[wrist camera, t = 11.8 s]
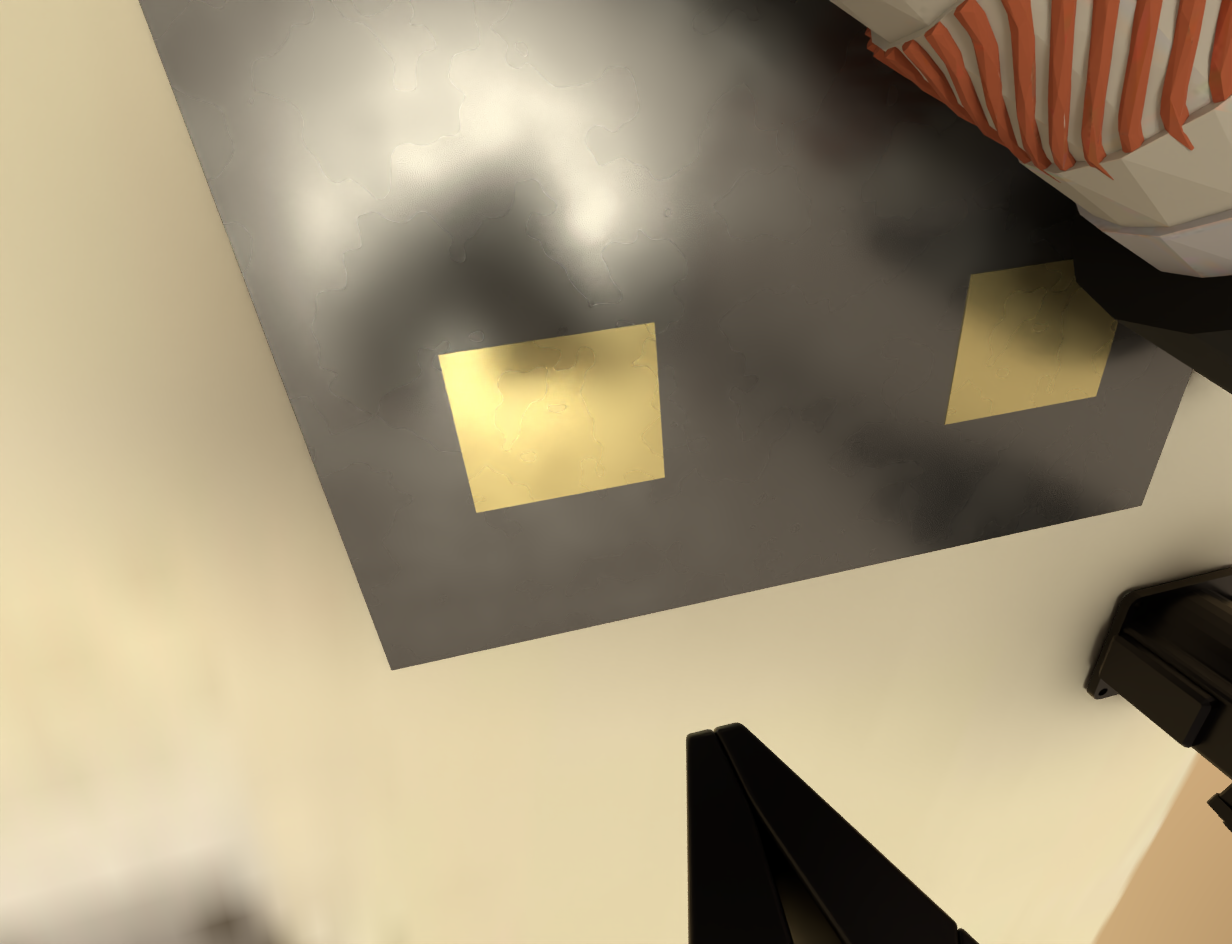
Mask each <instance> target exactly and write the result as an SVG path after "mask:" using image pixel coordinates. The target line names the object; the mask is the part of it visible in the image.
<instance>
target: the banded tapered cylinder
mask: <svg viewBox="0 0 1232 944" xmlns="http://www.w3.org/2000/svg"><path fill="white" fill-rule="evenodd" d="M829 1H831V2H832V3H834V4H835V5H837V6H838V7H839V8H841V9H842V10H844V11H845V12H847V13H848V14H849V15H851V16H852V17H854V18H855V19H856V20H858V21H859V22H861V23H862V24H864V25H865V26H866V27H867V30H866V32H865V35H867V36H868V37H870V40H869V42H868V43H867V49H868V50H870V51H872V52H873V53H874V55H873V57H875V58H876V59H878V60H879V61H881V62H882V63H884V64H885V65H887V66H889V67H890V68H892V69H893V70H895V71H896V72H898V73H899V74H901V75H902V76H904V77H905V78H907V79H909V80H911V81H912V82H913V83H915V84H916V85H917V86H918V87H919V88H920V89H921V90H922V91H924V92H926V93H927V94H929V95H931V96H932V97H934V98H936V99H937V100H939V101H941V102H943V103H944V104H946V105H947V106H948V107H949V108H950V109H951V110H952V111H953V112H954V113H955V114H956V115H957V116H959V117H961V118H962V119H964V120H966V121H968V122H970V123H972V124H973V125H976V126H978V128H979V129H980V130H981V132H982V133H983V134H984V135H985V136H987V137H989V138H991V139H992V140H994V141H996V142H998V143H1000V144H1001V145H1003V146H1005V147H1007V148H1008V149H1009V150H1010V151H1011V152H1012V153H1013V154H1014V155H1015V156H1016V157H1017V158H1018V160H1019V163H1021V164H1022V165H1024V166H1025V167H1026V168H1028V169H1029V170H1031V171H1032V172H1033V173H1035V174H1036V175H1038V176H1039V177H1040V178H1042V179H1043V180H1045V181H1046V182H1047V183H1049V184H1050V185H1052V186H1053V187H1054V188H1056V189H1057V190H1059V191H1060V192H1061V193H1063V194H1064V195H1066V196H1067V197H1068V198H1070V199H1071V200H1073V201H1074V202H1075V203H1076V206H1077V211H1076V214H1075V217H1074V220H1073V223H1072V225H1071V228H1070V238H1071V247H1072V255H1073V263H1074V272H1075V280H1076V283H1077V284H1078V285H1079V286H1080V287H1081V288H1082V289H1084V290H1085V291H1086V292H1087V293H1088V294H1089V295H1090V296H1091V297H1092V298H1093V299H1094V300H1095V301H1096V302H1097V303H1098V304H1099V305H1100V306H1101V307H1102V308H1103V309H1104V310H1105V311H1106V312H1107V313H1108V314H1109V315H1110V316H1111V317H1113V318H1114V319H1115V320H1117V321H1118V322H1120V323H1121V324H1123V325H1124V326H1126V327H1127V328H1129V329H1131V330H1132V331H1134V332H1135V333H1137V334H1138V335H1140V336H1142V337H1143V338H1145V339H1146V340H1148V341H1149V342H1151V343H1153V344H1154V345H1156V346H1157V347H1159V348H1160V349H1162V350H1163V351H1165V352H1167V353H1168V354H1170V355H1171V356H1173V357H1174V358H1176V359H1178V360H1179V361H1181V362H1182V363H1184V364H1185V365H1187V366H1188V367H1190V368H1192V369H1193V370H1195V371H1196V372H1198V373H1199V374H1201V375H1203V376H1204V377H1206V378H1207V379H1209V380H1210V381H1212V382H1214V383H1215V384H1217V385H1218V386H1220V387H1221V388H1223V389H1224V390H1226V391H1228V392H1229V393H1231V394H1232V0H829Z"/></svg>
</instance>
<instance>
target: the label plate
mask: <svg viewBox="0 0 1232 944" xmlns="http://www.w3.org/2000/svg"><path fill="white" fill-rule="evenodd" d="M139 3H140V5H141V8H142V10H143V13H144V16H145V18H146V21H147V24H148V26H149V29H150V32H151V34H152V37H153V40H154V42H155V45H156V48H157V50H158V53H159V56H160V58H161V61H162V63H163V66H164V69H165V71H166V74H167V77H168V79H169V82H170V85H171V87H172V90H173V93H174V95H175V98H176V101H177V103H178V106H179V108H180V111H181V114H182V116H183V119H184V122H185V124H186V127H187V130H188V132H189V135H190V138H191V140H192V143H193V146H194V148H195V151H196V154H197V156H198V159H199V161H200V164H201V167H202V169H203V172H204V175H205V177H206V180H207V183H208V185H209V188H210V191H211V193H212V196H213V199H214V201H215V204H216V207H217V209H218V212H219V214H220V217H221V220H222V222H223V225H224V228H225V230H226V233H227V236H228V238H229V241H230V244H231V246H232V249H233V252H234V254H235V257H236V260H237V262H238V265H239V267H240V270H241V273H242V275H243V278H244V281H245V283H246V286H247V289H248V291H249V294H250V297H251V299H252V302H253V305H254V307H255V310H256V313H257V315H258V318H259V320H260V323H261V326H262V328H263V331H264V334H265V336H266V339H267V342H268V344H269V347H270V350H271V352H272V355H273V358H274V360H275V363H276V366H277V368H278V371H279V373H280V376H281V379H282V381H283V384H284V387H285V389H286V392H287V395H288V397H289V400H290V403H291V405H292V408H293V411H294V413H295V416H296V418H297V421H298V424H299V426H300V429H301V432H302V434H303V437H304V440H305V442H306V445H307V448H308V450H309V453H310V456H311V458H312V461H313V464H314V466H315V469H316V471H317V474H318V477H319V479H320V482H321V485H322V487H323V490H324V493H325V495H326V498H327V501H328V503H329V506H330V509H331V511H332V514H333V517H334V519H335V522H336V524H337V527H338V530H339V532H340V535H341V538H342V540H343V543H344V546H345V548H346V551H347V554H348V556H349V559H350V562H351V564H352V567H353V570H354V572H355V575H356V577H357V580H358V583H359V585H360V588H361V591H362V593H363V596H364V599H365V601H366V604H367V607H368V609H369V612H370V615H371V617H372V620H373V623H374V625H375V628H376V630H377V633H378V636H379V638H380V641H381V644H382V646H383V649H384V652H385V654H386V657H387V660H388V662H389V665H390V668H391V670H396V669H400V668H405V667H409V666H414V665H418V664H423V663H428V662H432V661H437V660H441V659H446V658H450V657H455V656H459V655H464V654H469V653H473V652H478V651H482V650H487V649H491V648H496V647H500V646H505V645H509V644H514V643H519V642H523V641H528V640H532V639H537V638H541V637H546V636H550V635H555V634H559V633H564V632H569V631H573V630H578V629H582V628H587V627H591V626H596V625H600V624H605V623H610V622H614V621H619V620H623V619H628V618H632V617H637V616H641V615H646V614H650V613H655V612H660V611H664V610H669V609H673V608H678V607H682V606H687V605H691V604H696V603H700V602H705V601H710V600H714V599H719V598H723V597H728V596H732V595H737V594H741V593H746V592H751V591H755V590H760V589H764V588H769V587H773V586H778V585H782V584H787V583H791V582H796V581H801V580H805V579H810V578H814V577H819V576H823V575H828V574H832V573H837V572H841V571H846V570H851V569H855V568H860V567H864V566H869V565H873V564H878V563H882V562H887V561H892V560H896V559H901V558H905V557H910V556H914V555H919V554H923V553H928V552H932V551H937V550H942V549H946V548H951V547H955V546H960V545H964V544H969V543H973V542H978V541H983V540H987V539H992V538H996V537H1001V536H1005V535H1010V534H1014V533H1019V532H1023V531H1028V530H1033V529H1037V528H1042V527H1046V526H1051V525H1055V524H1060V523H1064V522H1069V521H1073V520H1078V519H1083V518H1087V517H1092V516H1096V515H1101V514H1105V513H1110V512H1114V511H1119V510H1124V509H1128V508H1133V507H1137V506H1141V505H1142V503H1143V500H1144V497H1145V495H1146V492H1147V489H1148V487H1149V484H1150V481H1151V479H1152V476H1153V473H1154V471H1155V468H1156V465H1157V463H1158V460H1159V457H1160V455H1161V452H1162V449H1163V447H1164V444H1165V441H1166V439H1167V436H1168V433H1169V431H1170V428H1171V425H1172V423H1173V420H1174V417H1175V415H1176V412H1177V409H1178V407H1179V404H1180V401H1181V399H1182V396H1183V393H1184V391H1185V388H1186V385H1187V383H1188V380H1189V377H1190V375H1191V372H1192V368H1190V367H1188V366H1187V365H1185V364H1184V363H1182V362H1181V361H1179V360H1178V359H1176V358H1174V357H1173V356H1171V355H1170V354H1168V353H1167V352H1165V351H1163V350H1162V349H1160V348H1159V347H1157V346H1156V345H1154V344H1153V343H1151V342H1149V341H1148V340H1146V339H1145V338H1143V337H1142V336H1140V335H1138V334H1137V333H1135V332H1134V331H1132V330H1131V329H1129V328H1127V327H1126V326H1124V325H1123V324H1121V323H1120V322H1118V321H1117V320H1115V319H1114V318H1113V317H1111V316H1110V315H1109V314H1108V313H1107V312H1106V311H1105V310H1104V309H1103V308H1102V307H1101V306H1100V305H1099V304H1098V303H1097V302H1096V301H1095V300H1094V299H1093V298H1092V297H1091V296H1090V295H1089V294H1088V293H1087V292H1086V291H1085V290H1084V289H1082V288H1081V287H1080V286H1079V285H1078V284H1077V283H1076V280H1075V272H1074V263H1073V255H1072V247H1071V238H1070V228H1071V225H1072V223H1073V220H1074V217H1075V214H1076V211H1077V206H1076V203H1075V202H1074V201H1073V200H1071V199H1070V198H1068V197H1067V196H1066V195H1064V194H1063V193H1061V192H1060V191H1059V190H1057V189H1056V188H1054V187H1053V186H1052V185H1050V184H1049V183H1047V182H1046V181H1045V180H1043V179H1042V178H1040V177H1039V176H1038V175H1036V174H1035V173H1033V172H1032V171H1031V170H1029V169H1028V168H1026V167H1025V166H1024V165H1022V164H1021V163H1019V160H1018V158H1017V157H1016V156H1015V155H1014V154H1013V153H1012V152H1011V151H1010V150H1009V149H1008V148H1007V147H1005V146H1003V145H1001V144H1000V143H998V142H996V141H994V140H992V139H991V138H989V137H987V136H985V135H984V134H983V133H982V132H981V130H980V129H979V128H978V126H976V125H973V124H972V123H970V122H968V121H966V120H964V119H962V118H961V117H959V116H957V115H956V114H955V113H954V112H953V111H952V110H951V109H950V108H949V107H948V106H947V105H946V104H944V103H943V102H941V101H939V100H937V99H936V98H934V97H932V96H931V95H929V94H927V93H926V92H924V91H922V90H921V89H920V88H919V87H918V86H917V85H916V84H915V83H913V82H912V81H911V80H909V79H907V78H905V77H904V76H902V75H901V74H899V73H898V72H896V71H895V70H893V69H892V68H890V67H889V66H887V65H885V64H884V63H882V62H881V61H879V60H878V59H876V58H875V57H873V55H874V53H873V52H872V51H870V50H868V49H867V43H868V42H869V40H870V37H868V36H867V35H865V32H866V30H867V27H866V26H865V25H864V24H862V23H861V22H859V21H858V20H856V19H855V18H854V17H852V16H851V15H849V14H848V13H847V12H845V11H844V10H842V9H841V8H839V7H838V6H837V5H835V4H834V3H832V2H831V1H829V0H139Z"/></svg>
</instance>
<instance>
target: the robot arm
mask: <svg viewBox="0 0 1232 944" xmlns="http://www.w3.org/2000/svg"><path fill="white" fill-rule="evenodd" d="M1087 692H1088V693H1089V694H1090V695H1091V696H1092V697H1093V698H1095V699H1102V698H1106V697H1110V696H1114V695H1117V694H1120V695H1121V696H1122V697H1124V698H1125V699H1126V700H1127V701H1128V702H1130V703H1131V704H1132V705H1133V706H1135V707H1136V708H1137V709H1138V710H1139V711H1141V712H1142V713H1143V714H1144V715H1146V716H1147V717H1148V718H1149V719H1150V720H1152V721H1153V722H1154V723H1155V724H1156V725H1158V726H1159V727H1160V728H1161V729H1163V730H1164V731H1165V732H1166V733H1167V734H1169V735H1170V736H1171V737H1172V738H1173V739H1175V740H1176V741H1177V742H1178V743H1180V744H1181V745H1182V746H1184V747H1187V748H1190V747H1192V748H1193V749H1195V750H1196V751H1197V752H1198V753H1199V754H1201V755H1202V756H1203V757H1204V758H1206V759H1207V760H1208V761H1209V762H1211V763H1212V764H1213V765H1214V766H1215V767H1217V768H1218V769H1219V770H1220V771H1222V772H1223V773H1224V774H1225V775H1227V776H1228V777H1229V778H1230V779H1231V780H1232V568H1228V569H1223V570H1219V571H1215V572H1211V573H1207V574H1203V575H1199V576H1195V577H1190V578H1186V579H1182V580H1178V581H1174V582H1170V583H1166V584H1162V585H1157V586H1153V587H1149V588H1145V589H1141V590H1137V591H1133V592H1131V593H1129V594H1127V595H1126V596H1125V597H1124V598H1123V599H1122V601H1121V603H1120V605H1119V608H1118V610H1117V613H1116V615H1115V618H1114V621H1113V623H1112V626H1111V628H1110V631H1109V633H1108V636H1107V638H1106V641H1105V644H1104V646H1103V649H1102V651H1101V654H1100V656H1099V659H1098V661H1097V664H1096V667H1095V669H1094V672H1093V674H1092V677H1091V679H1090V682H1089V684H1088V687H1087ZM686 770H687V855H688V941H689V944H979V943H978V942H977V941H976V940H975V939H973V938H972V937H971V936H970V935H969V934H968V933H967V932H966V931H965V930H964V929H962V928H959V929H958V930H957V924H956V922H955V921H954V920H953V919H952V918H951V917H949V916H948V915H947V914H946V913H945V912H944V911H943V910H942V909H941V908H940V907H939V906H938V905H937V904H935V903H934V902H933V901H932V900H931V899H930V898H929V897H928V896H927V895H926V894H925V893H924V892H923V891H921V890H920V889H919V888H918V887H917V886H916V885H915V884H914V883H913V882H912V881H911V880H910V879H909V878H908V877H906V876H905V875H904V874H903V873H902V872H901V871H900V870H899V869H898V868H897V867H896V866H895V865H894V864H892V863H891V862H890V861H889V860H888V859H887V858H886V857H885V856H884V855H883V854H882V853H881V852H880V851H878V850H877V849H876V848H875V847H874V846H873V845H872V844H871V843H870V842H869V841H868V840H867V839H866V838H864V837H863V836H862V835H861V834H860V833H859V832H858V831H857V830H856V829H855V828H854V827H853V826H852V825H850V824H849V823H848V822H847V821H846V820H845V819H844V818H843V817H842V816H841V815H840V814H839V813H838V812H836V811H835V810H834V809H833V808H832V807H831V806H830V805H829V804H828V803H827V802H826V801H825V800H824V799H822V798H821V797H820V796H819V795H818V794H817V793H816V792H815V791H814V790H813V789H812V788H811V787H810V786H808V785H807V784H806V783H805V782H804V781H803V780H802V779H801V778H800V777H799V776H798V775H797V774H796V773H795V772H793V771H792V770H791V769H790V768H789V767H788V766H787V765H786V764H785V763H784V762H783V761H782V760H781V759H779V758H778V757H777V756H776V755H775V754H774V753H773V752H772V751H771V750H770V749H769V748H768V747H767V746H765V745H764V744H763V743H762V742H761V741H760V740H759V739H758V738H757V737H756V736H755V735H754V734H753V733H751V732H750V731H749V730H748V729H747V728H746V727H745V726H744V725H742V724H740V723H732V724H728V725H724V726H719V727H717V728H715V729H714V732H713V731H712V730H709V729H707V730H703V731H699V732H695V733H691V734H688V735H687V737H686ZM1207 803H1208V804H1209V806H1210V807H1211V808H1212V809H1213V810H1214V811H1215V812H1216V813H1217V814H1218V816H1219V817H1220V818H1221V819H1222V820H1223V823H1224V824H1225V826H1226V827H1227V828H1228V829H1229V830H1230V831H1231V832H1232V784H1230V785H1229V786H1228V787H1227V788H1226V789H1225V790H1224V791H1223V792H1222V793H1220V794H1219V793H1216V794H1215V795H1214V796H1213V797H1211V798H1210V799H1209V800H1208V801H1207Z"/></svg>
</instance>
